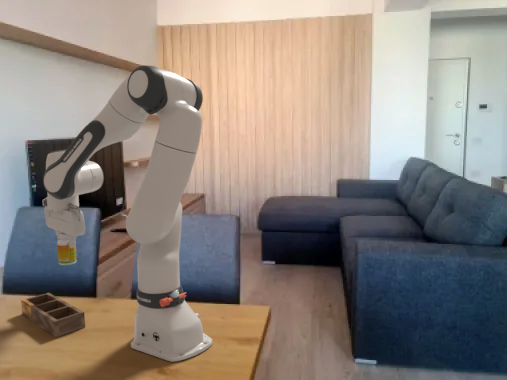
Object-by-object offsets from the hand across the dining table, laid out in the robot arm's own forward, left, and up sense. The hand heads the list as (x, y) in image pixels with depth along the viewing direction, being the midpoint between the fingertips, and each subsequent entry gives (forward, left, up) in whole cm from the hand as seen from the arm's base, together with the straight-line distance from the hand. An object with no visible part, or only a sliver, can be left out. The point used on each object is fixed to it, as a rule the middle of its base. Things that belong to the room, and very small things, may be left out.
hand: (66, 245), depth 144 cm
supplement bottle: (0, 0, -6) cm, 6 cm away
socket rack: (-6, +8, -20) cm, 23 cm away
